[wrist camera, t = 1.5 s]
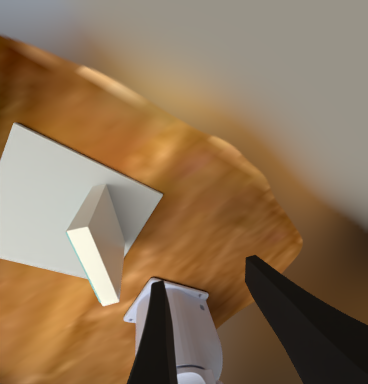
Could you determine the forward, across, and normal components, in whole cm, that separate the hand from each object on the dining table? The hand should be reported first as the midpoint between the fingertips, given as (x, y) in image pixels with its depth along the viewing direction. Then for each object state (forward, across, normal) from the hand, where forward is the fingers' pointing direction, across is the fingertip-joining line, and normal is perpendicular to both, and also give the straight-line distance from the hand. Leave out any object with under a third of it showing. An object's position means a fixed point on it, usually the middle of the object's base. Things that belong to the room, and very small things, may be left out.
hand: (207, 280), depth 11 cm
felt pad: (+10, +10, 0) cm, 15 cm away
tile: (+10, +7, 0) cm, 12 cm away
